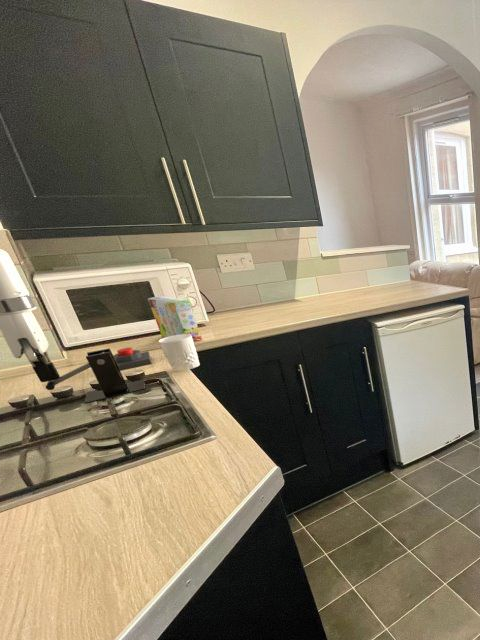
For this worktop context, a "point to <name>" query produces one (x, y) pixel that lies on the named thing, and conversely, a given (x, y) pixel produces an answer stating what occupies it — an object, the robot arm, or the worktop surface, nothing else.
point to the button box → (133, 360)
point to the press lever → (67, 376)
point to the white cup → (180, 352)
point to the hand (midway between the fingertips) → (50, 379)
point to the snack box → (174, 316)
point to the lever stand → (109, 377)
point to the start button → (125, 351)
